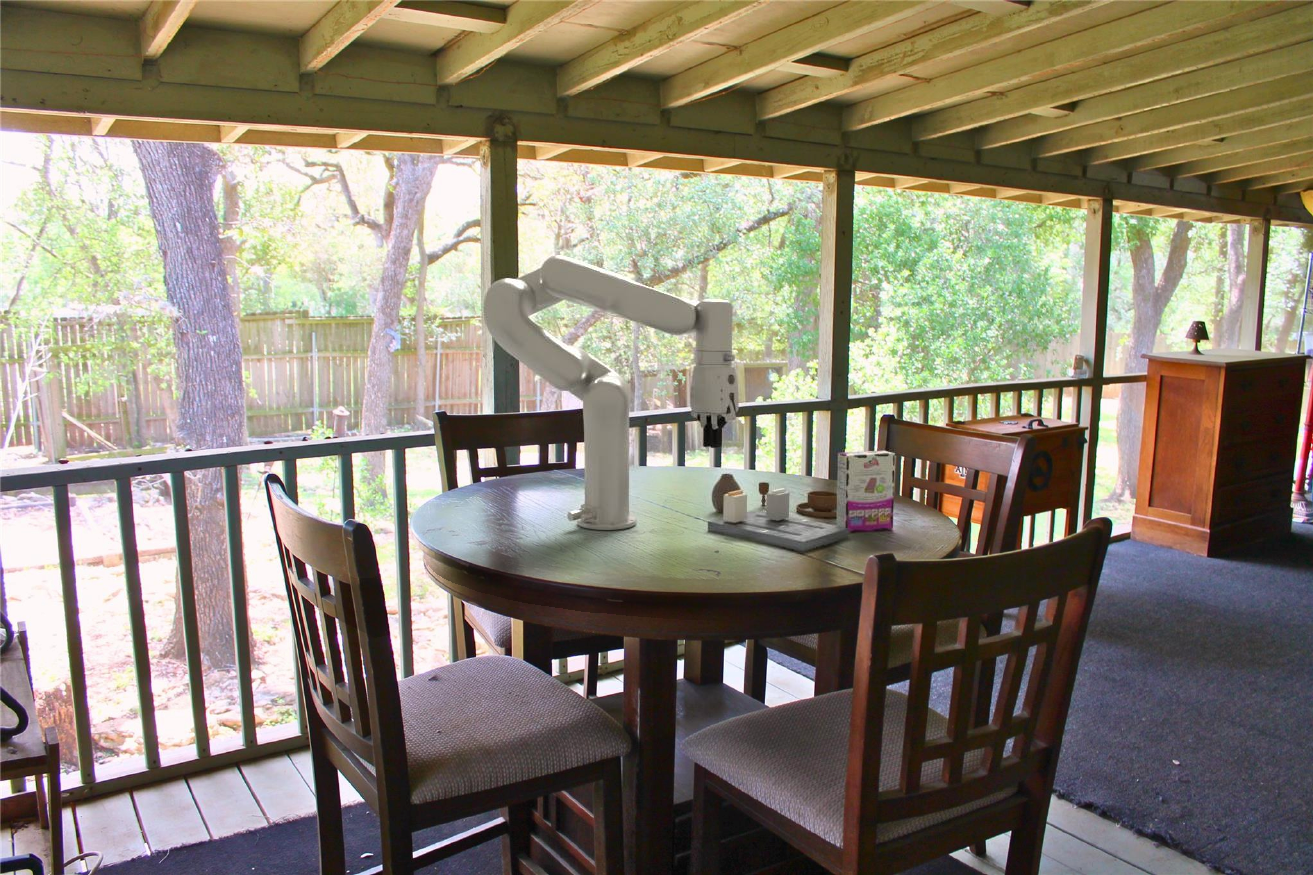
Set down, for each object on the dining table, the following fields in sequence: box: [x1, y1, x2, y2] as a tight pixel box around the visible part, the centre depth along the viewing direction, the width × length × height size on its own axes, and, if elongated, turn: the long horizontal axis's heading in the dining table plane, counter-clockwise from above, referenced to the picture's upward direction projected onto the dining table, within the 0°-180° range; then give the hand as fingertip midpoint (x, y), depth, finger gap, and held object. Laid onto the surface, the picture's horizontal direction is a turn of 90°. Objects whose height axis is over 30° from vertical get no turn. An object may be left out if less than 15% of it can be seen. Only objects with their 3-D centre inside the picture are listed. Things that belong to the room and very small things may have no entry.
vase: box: [711, 473, 742, 514], centre depth 207 cm, size 7×7×9 cm
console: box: [707, 509, 850, 553], centre depth 187 cm, size 16×24×2 cm, turn 46°
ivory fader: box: [722, 489, 748, 523], centre depth 189 cm, size 4×3×6 cm
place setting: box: [758, 481, 837, 518], centre depth 211 cm, size 18×20×6 cm
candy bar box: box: [836, 450, 896, 533], centre depth 191 cm, size 11×5×16 cm, turn 105°
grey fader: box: [765, 487, 791, 521], centre depth 191 cm, size 4×3×6 cm
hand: (712, 446), depth 192 cm, fingers closed
